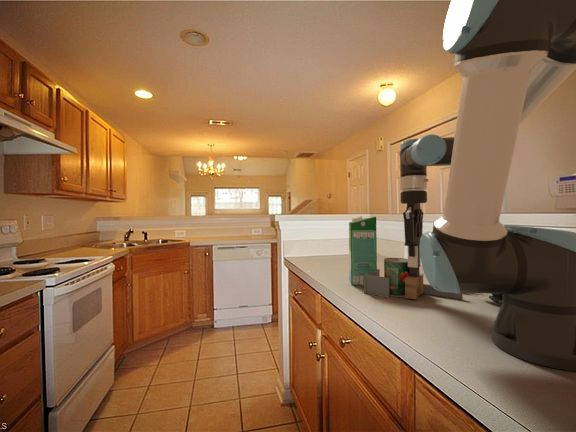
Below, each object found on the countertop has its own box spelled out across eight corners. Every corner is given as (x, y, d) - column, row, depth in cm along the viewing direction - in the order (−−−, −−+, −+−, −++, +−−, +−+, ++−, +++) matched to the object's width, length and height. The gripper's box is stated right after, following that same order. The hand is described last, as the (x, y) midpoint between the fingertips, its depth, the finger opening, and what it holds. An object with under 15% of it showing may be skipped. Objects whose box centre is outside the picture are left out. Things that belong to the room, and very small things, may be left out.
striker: (415, 299, 82) (415, 238, 82) (405, 297, 84) (404, 238, 84) (423, 292, 89) (423, 236, 89) (413, 290, 91) (413, 236, 91)
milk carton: (349, 279, 110) (348, 216, 110) (372, 279, 109) (372, 216, 108) (351, 285, 101) (350, 216, 101) (377, 285, 100) (376, 216, 99)
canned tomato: (412, 297, 85) (412, 262, 85) (385, 296, 87) (384, 261, 87) (408, 290, 93) (408, 258, 93) (383, 289, 95) (383, 257, 95)
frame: (456, 310, 74) (456, 287, 74) (364, 293, 91) (363, 274, 91) (462, 299, 84) (462, 279, 84) (378, 285, 100) (377, 269, 100)
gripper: (419, 188, 78) (420, 271, 78) (432, 191, 90) (433, 263, 90) (392, 190, 83) (393, 268, 83) (408, 192, 95) (409, 261, 95)
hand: (414, 266), depth 86 cm, fingers closed on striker, 2 cm apart
